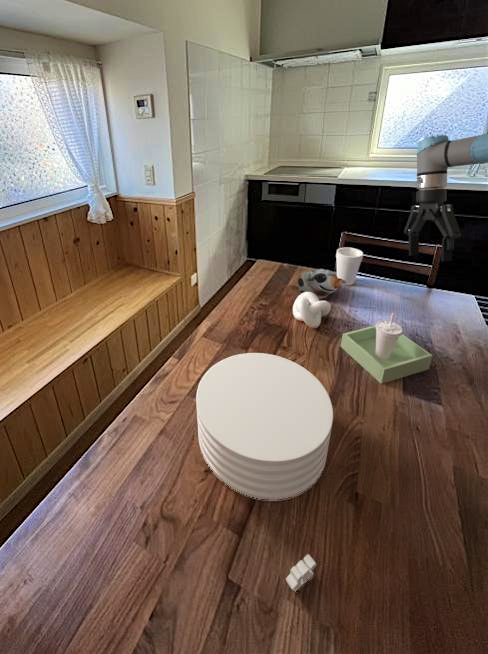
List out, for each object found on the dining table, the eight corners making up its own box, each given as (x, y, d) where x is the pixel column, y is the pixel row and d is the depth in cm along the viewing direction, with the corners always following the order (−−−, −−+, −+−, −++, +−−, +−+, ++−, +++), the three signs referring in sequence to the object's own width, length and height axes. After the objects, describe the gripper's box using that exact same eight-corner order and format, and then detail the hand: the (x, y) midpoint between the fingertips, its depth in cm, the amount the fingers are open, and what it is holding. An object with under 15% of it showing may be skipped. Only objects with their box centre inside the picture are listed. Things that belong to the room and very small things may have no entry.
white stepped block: (307, 566, 54) (309, 551, 52) (314, 576, 53) (317, 561, 51) (284, 587, 52) (286, 572, 50) (291, 598, 51) (293, 583, 49)
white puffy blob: (322, 310, 118) (325, 288, 115) (335, 331, 108) (338, 307, 104) (290, 311, 119) (291, 289, 115) (299, 332, 108) (301, 308, 104)
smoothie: (400, 356, 94) (411, 315, 89) (387, 366, 91) (397, 324, 86) (378, 344, 99) (387, 304, 94) (365, 353, 96) (373, 312, 91)
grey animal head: (332, 284, 134) (349, 263, 123) (332, 309, 126) (351, 289, 116) (295, 273, 135) (309, 251, 124) (294, 297, 127) (309, 277, 116)
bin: (428, 369, 91) (433, 355, 89) (381, 383, 87) (384, 369, 85) (383, 335, 104) (386, 322, 102) (340, 346, 101) (342, 333, 99)
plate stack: (191, 492, 65) (187, 453, 61) (204, 383, 91) (202, 350, 86) (342, 509, 61) (351, 469, 56) (312, 390, 86) (316, 355, 82)
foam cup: (334, 286, 133) (338, 256, 127) (331, 275, 141) (334, 247, 135) (360, 288, 130) (365, 257, 125) (355, 276, 138) (360, 247, 133)
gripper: (392, 192, 115) (391, 254, 117) (453, 186, 90) (450, 264, 93) (414, 191, 115) (412, 252, 118) (480, 185, 90) (476, 262, 93)
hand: (429, 258), depth 105 cm, fingers open, 13 cm apart
